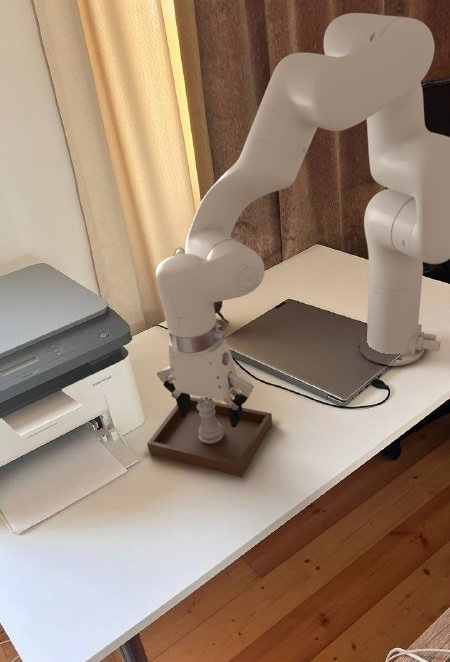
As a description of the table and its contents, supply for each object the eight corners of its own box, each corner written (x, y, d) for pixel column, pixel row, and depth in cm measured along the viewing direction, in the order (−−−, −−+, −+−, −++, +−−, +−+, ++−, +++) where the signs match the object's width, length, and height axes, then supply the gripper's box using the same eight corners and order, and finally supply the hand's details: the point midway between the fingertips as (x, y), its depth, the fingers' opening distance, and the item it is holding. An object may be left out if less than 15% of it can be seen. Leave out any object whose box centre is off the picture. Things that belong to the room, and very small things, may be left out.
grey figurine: (214, 344, 134) (201, 258, 121) (175, 330, 140) (158, 247, 128) (237, 326, 138) (226, 241, 126) (198, 313, 145) (184, 231, 132)
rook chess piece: (195, 443, 110) (188, 408, 105) (204, 426, 113) (197, 391, 108) (219, 447, 108) (213, 411, 103) (227, 429, 111) (222, 394, 106)
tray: (272, 424, 112) (271, 413, 110) (242, 477, 103) (240, 466, 101) (185, 406, 119) (183, 395, 117) (149, 454, 110) (146, 443, 108)
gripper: (255, 327, 96) (266, 411, 107) (157, 314, 103) (177, 395, 114) (235, 356, 91) (249, 441, 102) (134, 340, 98) (157, 421, 109)
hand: (211, 416), depth 108 cm, fingers open, 9 cm apart
